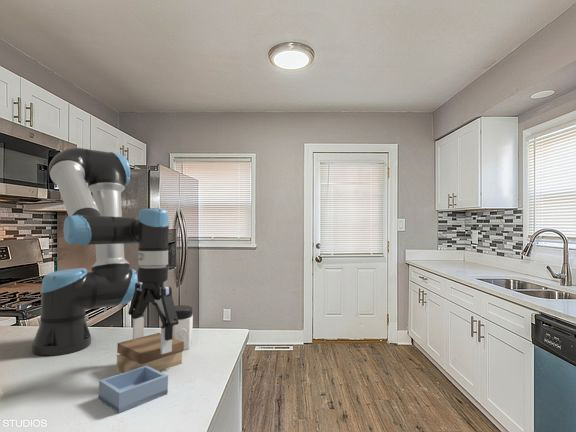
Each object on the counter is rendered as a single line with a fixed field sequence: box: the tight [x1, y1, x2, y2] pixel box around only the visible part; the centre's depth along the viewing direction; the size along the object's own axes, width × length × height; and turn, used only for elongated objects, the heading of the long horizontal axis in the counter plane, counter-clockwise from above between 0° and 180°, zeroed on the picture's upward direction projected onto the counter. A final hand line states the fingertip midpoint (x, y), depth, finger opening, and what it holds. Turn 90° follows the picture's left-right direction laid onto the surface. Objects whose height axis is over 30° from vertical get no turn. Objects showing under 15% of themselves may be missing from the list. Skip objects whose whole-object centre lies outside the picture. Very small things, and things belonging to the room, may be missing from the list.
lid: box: [116, 332, 185, 364], centre depth 94 cm, size 12×12×2 cm
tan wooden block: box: [116, 352, 183, 374], centre depth 94 cm, size 8×14×4 cm, turn 142°
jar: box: [166, 304, 194, 351], centre depth 110 cm, size 9×8×12 cm
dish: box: [98, 365, 169, 414], centre depth 78 cm, size 9×11×4 cm
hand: (151, 347), depth 94 cm, fingers open, 13 cm apart
